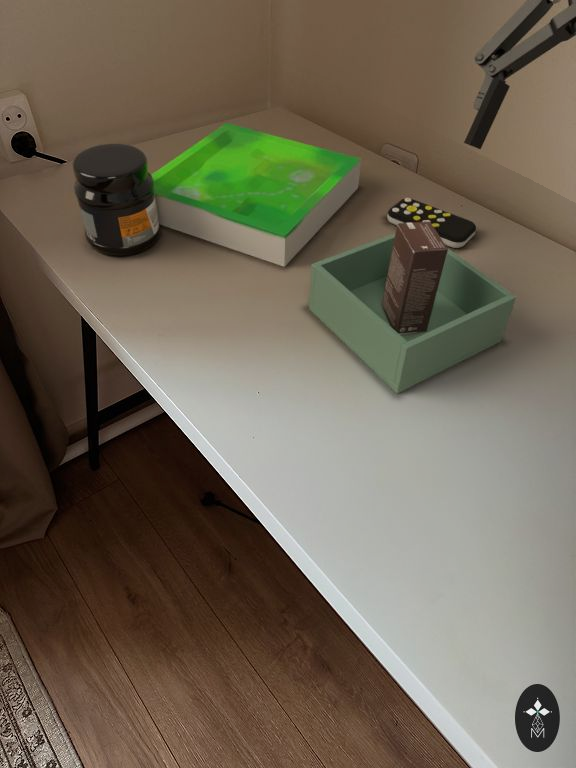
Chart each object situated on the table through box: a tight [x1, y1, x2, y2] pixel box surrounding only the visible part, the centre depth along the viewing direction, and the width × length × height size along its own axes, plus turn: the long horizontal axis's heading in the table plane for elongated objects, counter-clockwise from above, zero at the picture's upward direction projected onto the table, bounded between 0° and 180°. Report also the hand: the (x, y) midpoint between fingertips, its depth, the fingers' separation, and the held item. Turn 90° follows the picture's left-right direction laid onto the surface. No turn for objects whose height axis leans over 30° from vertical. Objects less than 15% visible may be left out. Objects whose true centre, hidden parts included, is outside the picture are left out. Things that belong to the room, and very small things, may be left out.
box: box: [382, 222, 449, 335], centre depth 75 cm, size 6×4×12 cm
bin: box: [308, 232, 517, 394], centre depth 77 cm, size 18×17×7 cm
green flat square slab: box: [150, 122, 362, 268], centre depth 98 cm, size 25×25×5 cm
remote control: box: [386, 197, 477, 249], centre depth 95 cm, size 6×13×2 cm, turn 53°
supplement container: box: [72, 143, 161, 257], centre depth 88 cm, size 10×10×12 cm
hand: (528, 169), depth 64 cm, fingers open, 13 cm apart
